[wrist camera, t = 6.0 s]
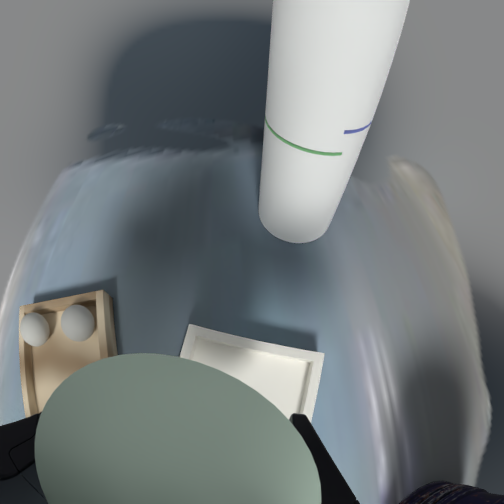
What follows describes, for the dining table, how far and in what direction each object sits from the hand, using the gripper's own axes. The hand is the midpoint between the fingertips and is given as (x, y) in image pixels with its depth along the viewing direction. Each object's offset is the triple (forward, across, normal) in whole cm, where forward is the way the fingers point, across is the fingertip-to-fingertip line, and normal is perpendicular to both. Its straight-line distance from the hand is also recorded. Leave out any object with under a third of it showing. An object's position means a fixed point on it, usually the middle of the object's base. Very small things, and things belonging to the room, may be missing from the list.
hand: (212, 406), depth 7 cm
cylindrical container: (+22, -2, -3) cm, 23 cm away
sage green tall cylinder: (+4, 0, +5) cm, 6 cm away
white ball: (+10, +13, +8) cm, 18 cm away
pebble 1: (+9, +18, +9) cm, 22 cm away
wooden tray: (+8, +14, +11) cm, 20 cm away
